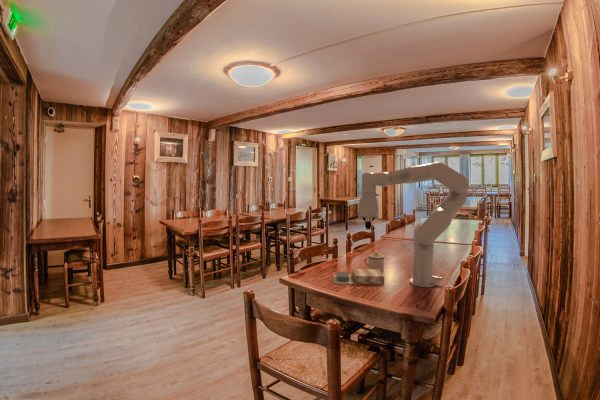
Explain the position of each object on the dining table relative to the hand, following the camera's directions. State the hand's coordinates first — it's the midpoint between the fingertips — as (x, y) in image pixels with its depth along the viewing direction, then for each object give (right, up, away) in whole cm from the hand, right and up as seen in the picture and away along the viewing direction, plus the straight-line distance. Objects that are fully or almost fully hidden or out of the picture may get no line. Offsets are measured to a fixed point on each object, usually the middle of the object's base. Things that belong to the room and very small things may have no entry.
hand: (368, 229), depth 171 cm
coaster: (-14, -24, -1) cm, 28 cm away
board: (-1, -27, -1) cm, 27 cm away
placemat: (-14, -27, -1) cm, 30 cm away
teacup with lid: (+7, -26, +16) cm, 31 cm away
